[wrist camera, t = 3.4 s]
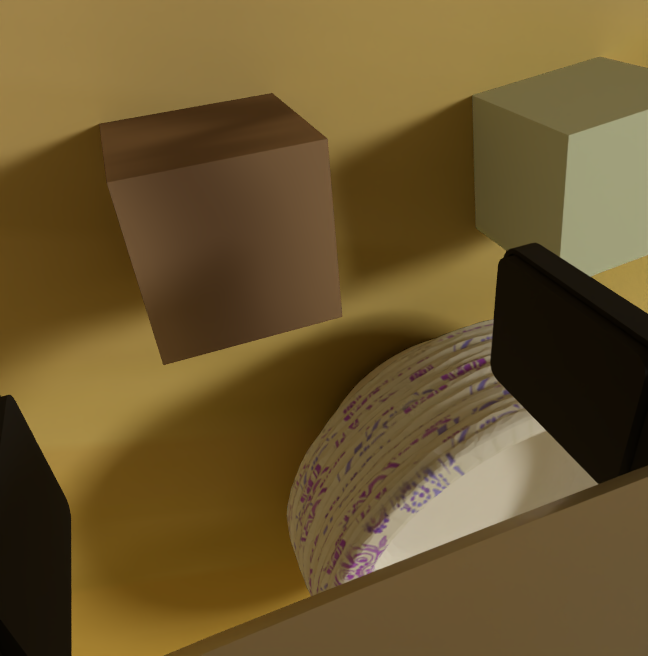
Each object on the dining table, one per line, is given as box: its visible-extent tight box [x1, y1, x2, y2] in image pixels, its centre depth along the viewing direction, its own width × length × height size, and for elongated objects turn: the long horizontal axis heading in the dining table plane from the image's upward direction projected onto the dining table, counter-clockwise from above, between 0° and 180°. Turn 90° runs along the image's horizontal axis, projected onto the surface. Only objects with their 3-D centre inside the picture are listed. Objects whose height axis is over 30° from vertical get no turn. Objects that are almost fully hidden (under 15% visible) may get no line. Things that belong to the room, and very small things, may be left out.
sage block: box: [472, 57, 648, 276], centre depth 20 cm, size 5×5×5 cm
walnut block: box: [99, 93, 342, 365], centre depth 17 cm, size 5×5×5 cm
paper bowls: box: [287, 319, 598, 596], centre depth 25 cm, size 15×15×8 cm
